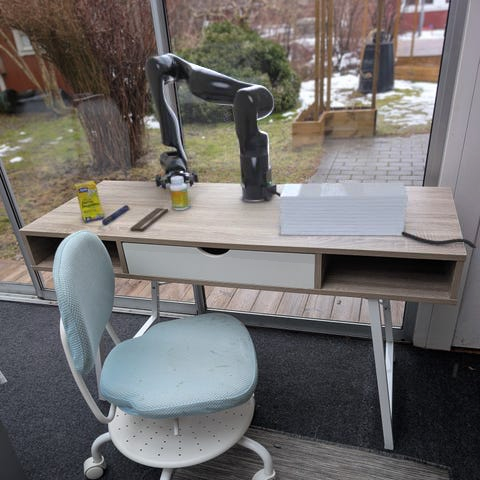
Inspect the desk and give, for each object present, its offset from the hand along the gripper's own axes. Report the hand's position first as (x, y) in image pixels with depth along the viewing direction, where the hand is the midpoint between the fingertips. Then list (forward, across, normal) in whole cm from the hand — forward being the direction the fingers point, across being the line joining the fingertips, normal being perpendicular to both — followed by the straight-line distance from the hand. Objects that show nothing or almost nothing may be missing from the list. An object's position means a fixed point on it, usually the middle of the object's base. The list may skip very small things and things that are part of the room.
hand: (177, 185), depth 155 cm
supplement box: (+5, -28, +6) cm, 29 cm away
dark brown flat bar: (+13, -10, +6) cm, 18 cm away
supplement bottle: (+5, 0, +6) cm, 8 cm away
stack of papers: (+37, +42, +6) cm, 57 cm away
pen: (+6, -21, +6) cm, 22 cm away
